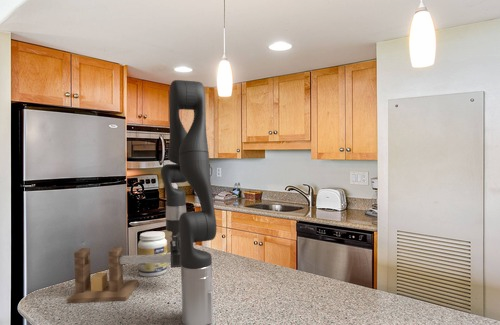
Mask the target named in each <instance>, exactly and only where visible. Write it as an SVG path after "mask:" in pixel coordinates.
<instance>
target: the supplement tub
mask: <svg viewBox="0 0 500 325" xmlns="http://www.w3.org/2000/svg"><path fill="white" fill-rule="evenodd" d="M165 237H166V233H165V231H159V230H157V231H153V230H152V231H145V232H142V233H140V235H139V241H138V244H137V255H161V254H168V240H167V239H166V238H165ZM137 265H138V266H137V267H138V268H137V269H138V270H137V271H138V274H139V275H140V276H141V277H146V278H147V277H158V276H162V275H163V274H165V273H166V272H167V271H168V266H169V265H168V263H140V264H137Z"/></svg>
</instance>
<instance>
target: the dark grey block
mask: <svg viewBox="0 0 500 325" xmlns="http://www.w3.org/2000/svg"><path fill="white" fill-rule="evenodd" d="M178 246H179V245H178ZM169 247H170V252H171V245H170V246H169ZM174 251H177V250H174ZM179 253H180V254H179V265H173V255H171V253H169V254H168V253H167V254H161V255H138V254H136V255H135V254H134V255H131V254H130V255H123V256H119V264H123V265H134V264H135V265H136V264H137V265H138V264H140V263H167V264H168V263H170V268H181V252H180V248H179Z"/></svg>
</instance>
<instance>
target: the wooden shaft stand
mask: <svg viewBox="0 0 500 325" xmlns="http://www.w3.org/2000/svg"><path fill="white" fill-rule="evenodd" d="M73 256H74V258H73V259H74V285H75V286H74V292H73V293H72V294H71V295H70V296H69V297H68V298H67V299H66V304H80V303H85V304H86V302H87V303H104V302H105V303H107V302H110V303H111V302H127V301H128V300H129V298H130V296H131V295H132V294H133V293H134V291H135V289H136V288H137V287H138V285H139V283H140V280H139V279H124V266H123V265H124V264H119V256H124V255H123V247H122V246H115V247H113V248H111V249H110V250H109V251H108V286H107V287H106V288H105V289H104V290H103V291H91V277H92V276H91V248H90V247H82V248H80V249H78V250H76V251H75V252H74V255H73Z"/></svg>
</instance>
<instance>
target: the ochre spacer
mask: <svg viewBox="0 0 500 325" xmlns="http://www.w3.org/2000/svg"><path fill="white" fill-rule="evenodd" d="M90 277H91V291H103V290H104V289H105V288H106V287H107V286H108V281H109V276H108V272H96V273H95V274H93V275H91V276H90Z"/></svg>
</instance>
